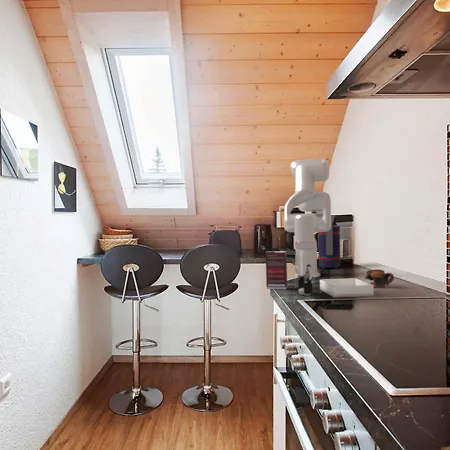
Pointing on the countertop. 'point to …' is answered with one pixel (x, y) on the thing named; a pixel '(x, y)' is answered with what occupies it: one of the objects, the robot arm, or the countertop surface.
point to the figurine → (302, 292)
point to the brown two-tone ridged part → (379, 278)
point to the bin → (346, 287)
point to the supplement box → (276, 270)
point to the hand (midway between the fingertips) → (305, 291)
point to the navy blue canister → (330, 246)
